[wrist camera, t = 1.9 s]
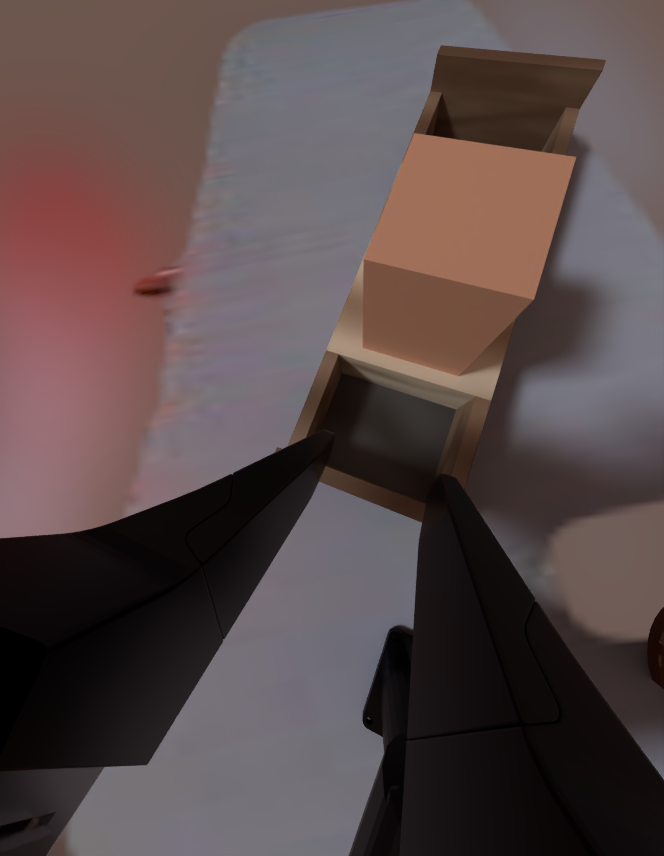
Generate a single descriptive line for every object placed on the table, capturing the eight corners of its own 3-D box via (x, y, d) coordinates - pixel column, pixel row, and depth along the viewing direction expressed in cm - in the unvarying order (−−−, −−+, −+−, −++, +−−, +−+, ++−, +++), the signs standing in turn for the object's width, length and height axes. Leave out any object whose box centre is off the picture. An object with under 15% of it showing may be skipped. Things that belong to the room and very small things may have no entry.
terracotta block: (458, 376, 18) (534, 299, 10) (362, 347, 19) (363, 259, 11) (486, 289, 19) (576, 157, 11) (393, 267, 20) (414, 133, 12)
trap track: (433, 520, 20) (464, 539, 14) (294, 465, 22) (271, 462, 16) (547, 159, 25) (605, 59, 19) (423, 140, 26) (440, 45, 21)
